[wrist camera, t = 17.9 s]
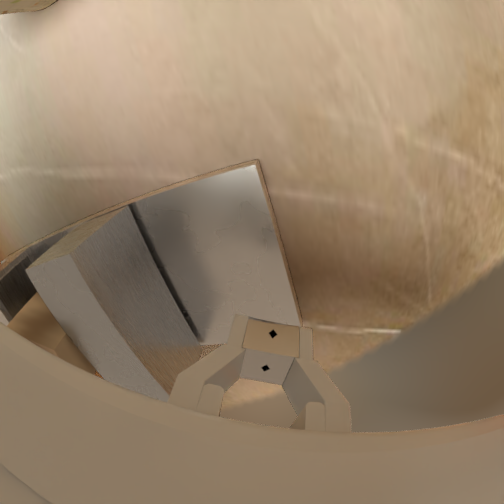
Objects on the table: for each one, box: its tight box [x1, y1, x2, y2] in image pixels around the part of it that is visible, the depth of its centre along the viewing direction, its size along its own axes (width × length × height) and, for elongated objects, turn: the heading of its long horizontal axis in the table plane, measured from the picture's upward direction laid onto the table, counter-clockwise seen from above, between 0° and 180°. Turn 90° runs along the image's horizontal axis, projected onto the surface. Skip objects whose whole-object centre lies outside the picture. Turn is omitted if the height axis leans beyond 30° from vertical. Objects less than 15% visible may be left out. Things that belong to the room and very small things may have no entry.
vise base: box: [0, 159, 303, 345], centre depth 15 cm, size 24×10×6 cm, turn 107°
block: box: [7, 292, 96, 375], centre depth 14 cm, size 5×4×6 cm
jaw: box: [25, 206, 202, 402], centre depth 13 cm, size 5×10×5 cm, turn 17°
